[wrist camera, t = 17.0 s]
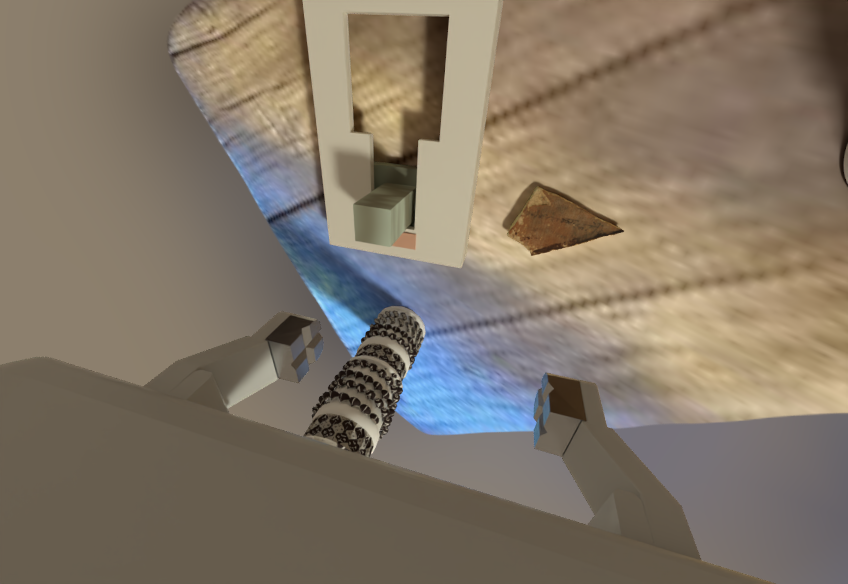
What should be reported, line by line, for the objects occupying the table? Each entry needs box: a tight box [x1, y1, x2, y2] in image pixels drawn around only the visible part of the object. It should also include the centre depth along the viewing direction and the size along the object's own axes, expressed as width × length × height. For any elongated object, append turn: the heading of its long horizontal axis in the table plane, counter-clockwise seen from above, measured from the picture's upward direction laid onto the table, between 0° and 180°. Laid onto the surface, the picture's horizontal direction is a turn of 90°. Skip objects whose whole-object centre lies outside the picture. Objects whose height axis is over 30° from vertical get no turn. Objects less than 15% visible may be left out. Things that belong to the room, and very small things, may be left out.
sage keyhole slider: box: [353, 161, 417, 247], centre depth 37 cm, size 8×8×10 cm
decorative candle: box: [303, 306, 425, 457], centre depth 43 cm, size 9×9×25 cm
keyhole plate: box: [303, 0, 503, 268], centre depth 36 cm, size 18×26×4 cm
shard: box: [507, 186, 624, 256], centre depth 38 cm, size 11×8×2 cm
